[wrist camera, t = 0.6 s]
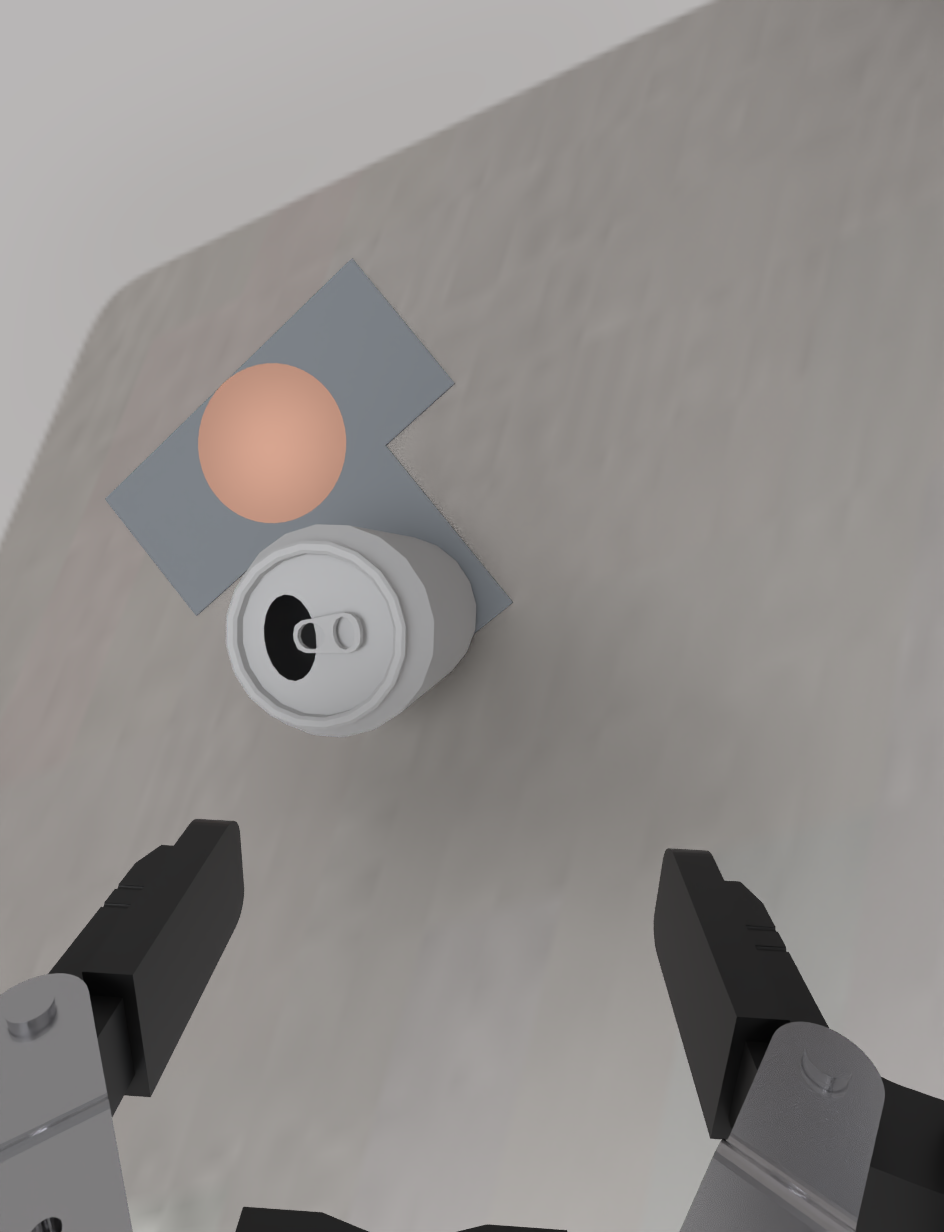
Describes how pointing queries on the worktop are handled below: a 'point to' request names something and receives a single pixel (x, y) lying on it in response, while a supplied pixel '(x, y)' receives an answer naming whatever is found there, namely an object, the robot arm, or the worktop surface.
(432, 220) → the worktop surface
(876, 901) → the worktop surface
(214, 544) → the t mat
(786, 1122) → the robot arm
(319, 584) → the can
